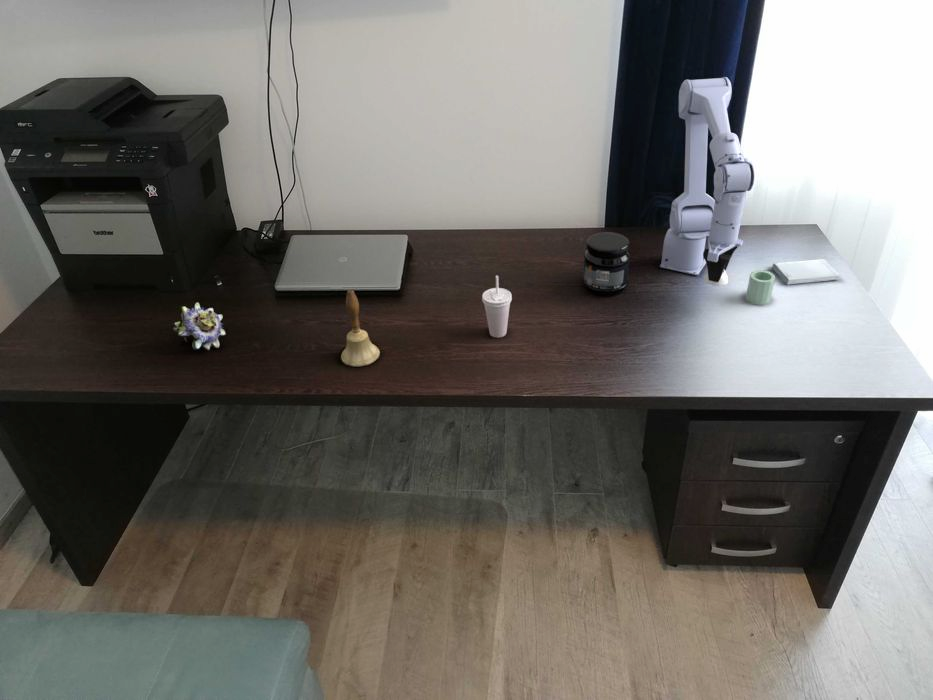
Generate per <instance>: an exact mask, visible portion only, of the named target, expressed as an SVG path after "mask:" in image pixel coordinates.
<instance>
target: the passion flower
mask: <svg viewBox="0 0 933 700" xmlns="http://www.w3.org/2000/svg"><path fill="white" fill-rule="evenodd" d="M180 309H181V311H182V312H181V321H177V322H174V323H173V326H174V327H172V329H171V330H172V331H173V332H175V333H177V336H178V337H182V338H183V339H184V341H185V342H186V343H188V339H189V338H190V336H192V337H193V341H192V343H191V344H192V345H191V346H192V349H193V350H194V351H197V350H199V349H200V348H201V347H202V349H204V350H206V351H210V349H211V347H212V348H214V349H219V348H220V341H219V337H220V336H222V337H223V336H226V331H225V329H223V328H224V326H222V325H224V323H222V322H221V321H222V320H223V319H224V318H223V317H224V316H223V314H217V313H216V312H214V308H213V307H209V308H207V307H205V309H204V306H202V307H201V305H200V303H199V302H195V304H194V306H193V307H191V308H188V307H186V306H181V307H180ZM181 322H182V323H181ZM180 325H181V326H180Z"/></svg>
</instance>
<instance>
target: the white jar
mask: <svg viewBox="0 0 933 700" xmlns="http://www.w3.org/2000/svg"><path fill="white" fill-rule="evenodd" d="M703 280H704V282H705V283H706V284H708V285H710V286H714V287H723V286H726V285H727V284H728V283H729V277H728V274H727V272H726V271H725V270H723V273H722V276H721V278H720V280H719V282H714V281H709V278H708V272H707V273H705V275H704V277H703Z"/></svg>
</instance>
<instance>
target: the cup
mask: <svg viewBox="0 0 933 700" xmlns="http://www.w3.org/2000/svg"><path fill="white" fill-rule="evenodd" d="M775 281H776V276H775V275H774V274H773V273H772V272H770V271H767V270H762V269H761V270H758V269H757V270H754V271H751V273H750V274H749V278H748V281H747V282H748V283H747V287H746V293H745V300H746V301H747V302H748V303H750V304H752V305H756V306H764V305H768V304H769V303H770V302H771V298H772V294H773V289H774V286H775Z"/></svg>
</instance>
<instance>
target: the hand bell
mask: <svg viewBox="0 0 933 700" xmlns="http://www.w3.org/2000/svg"><path fill="white" fill-rule="evenodd" d="M345 308H346V311H347V313H348V316H349V318H350V324H351V330H350V331H349V332H348V333H347V334H346V346H345V348H344V349H343V351H342V352H341V355H340V359H341V361H342V363H343V364H344V365H346V366H349V367H354V368H355V367H364V366H368V365H371V364H373V363H374V362H376V360H378V359H379V358H380V354H381V351H380V349H379V348H378V347H377V345H376V344H373V343H372V342H371V340H370V337H369V334H368V332H367V331H366V330H365V329H361V325H360V320H359V312H360V303H359V300H358V297H357V295H356V293H355V291H354V289H347V290H346V298H345Z"/></svg>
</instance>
